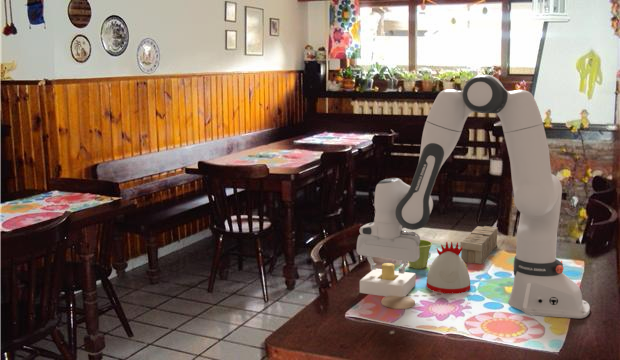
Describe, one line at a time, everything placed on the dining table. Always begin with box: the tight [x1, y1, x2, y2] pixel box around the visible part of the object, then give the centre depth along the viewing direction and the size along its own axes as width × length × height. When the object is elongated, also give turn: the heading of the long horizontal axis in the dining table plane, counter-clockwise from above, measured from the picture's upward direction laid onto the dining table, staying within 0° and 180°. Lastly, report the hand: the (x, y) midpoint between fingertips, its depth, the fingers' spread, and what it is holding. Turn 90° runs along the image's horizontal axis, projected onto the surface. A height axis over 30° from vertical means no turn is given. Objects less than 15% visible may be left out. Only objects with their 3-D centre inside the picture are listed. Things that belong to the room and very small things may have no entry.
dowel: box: [381, 262, 395, 281], centre depth 208 cm, size 4×4×8 cm
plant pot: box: [408, 239, 433, 270], centre depth 231 cm, size 9×9×9 cm
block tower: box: [459, 225, 499, 265], centre depth 246 cm, size 8×8×29 cm
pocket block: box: [359, 268, 417, 297], centre depth 208 cm, size 14×14×4 cm
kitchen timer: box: [426, 241, 471, 295], centre depth 209 cm, size 14×14×15 cm
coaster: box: [381, 295, 416, 310], centre depth 196 cm, size 10×10×1 cm
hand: (387, 271), depth 208 cm, fingers open, 8 cm apart
